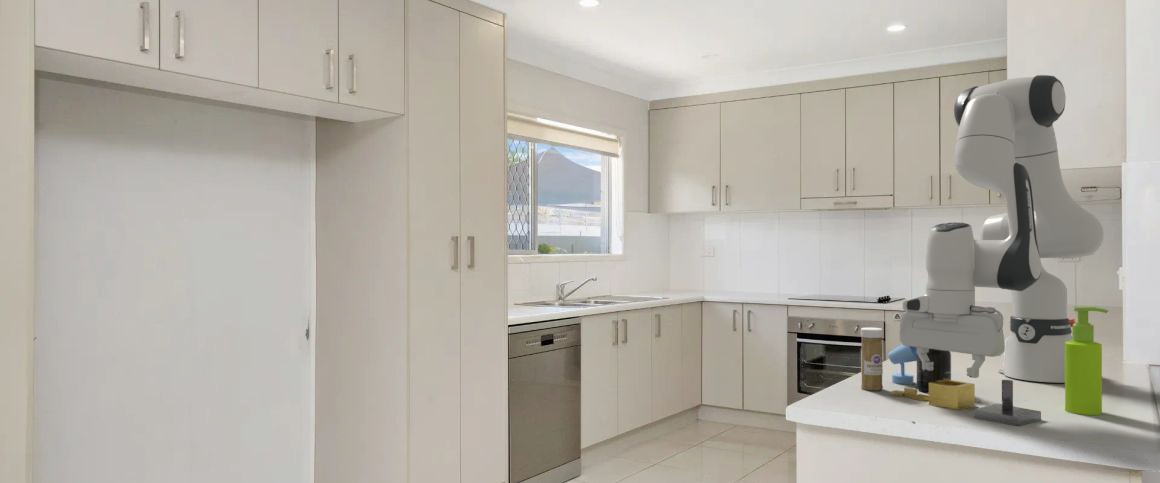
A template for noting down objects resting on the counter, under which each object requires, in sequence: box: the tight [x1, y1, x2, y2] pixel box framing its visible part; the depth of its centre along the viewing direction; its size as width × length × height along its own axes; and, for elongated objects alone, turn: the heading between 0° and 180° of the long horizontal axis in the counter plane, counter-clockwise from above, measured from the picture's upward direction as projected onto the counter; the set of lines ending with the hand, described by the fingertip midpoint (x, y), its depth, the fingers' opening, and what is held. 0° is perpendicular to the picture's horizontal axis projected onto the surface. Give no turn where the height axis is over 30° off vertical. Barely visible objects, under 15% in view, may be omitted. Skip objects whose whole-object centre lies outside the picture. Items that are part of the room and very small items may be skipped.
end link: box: [928, 379, 976, 411], centre depth 153 cm, size 6×6×4 cm
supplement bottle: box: [916, 349, 952, 394], centre depth 167 cm, size 7×7×12 cm
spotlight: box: [888, 343, 917, 385], centre depth 176 cm, size 5×10×7 cm
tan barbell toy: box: [890, 387, 929, 402], centre depth 160 cm, size 2×8×2 cm, turn 33°
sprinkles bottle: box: [860, 326, 884, 392], centre depth 169 cm, size 5×5×14 cm
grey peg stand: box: [973, 379, 1042, 427], centre depth 142 cm, size 8×8×7 cm
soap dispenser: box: [1064, 306, 1109, 416], centre depth 146 cm, size 6×7×20 cm
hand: (949, 373), depth 153 cm, fingers open, 8 cm apart
